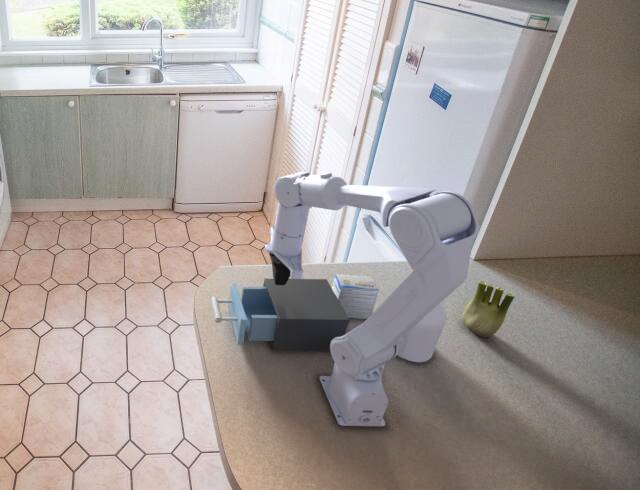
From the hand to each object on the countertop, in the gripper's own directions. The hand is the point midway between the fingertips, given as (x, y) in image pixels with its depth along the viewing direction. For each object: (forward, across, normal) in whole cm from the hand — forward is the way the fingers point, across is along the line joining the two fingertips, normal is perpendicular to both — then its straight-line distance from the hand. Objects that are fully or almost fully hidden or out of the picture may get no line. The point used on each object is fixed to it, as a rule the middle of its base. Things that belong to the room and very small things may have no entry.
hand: (279, 282), depth 95 cm
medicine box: (+11, -2, +18) cm, 21 cm away
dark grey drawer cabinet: (+10, +2, +5) cm, 12 cm away
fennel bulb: (+11, +3, +43) cm, 44 cm away
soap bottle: (+11, +7, +26) cm, 29 cm away
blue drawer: (+9, +2, -5) cm, 11 cm away
